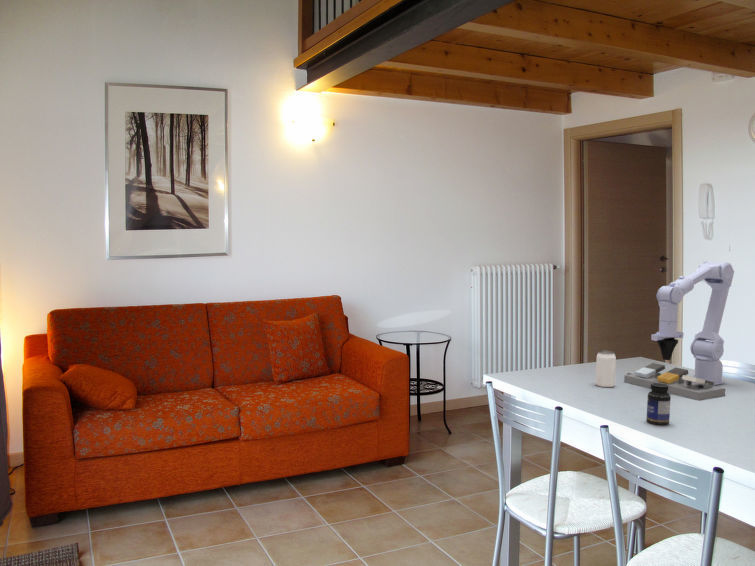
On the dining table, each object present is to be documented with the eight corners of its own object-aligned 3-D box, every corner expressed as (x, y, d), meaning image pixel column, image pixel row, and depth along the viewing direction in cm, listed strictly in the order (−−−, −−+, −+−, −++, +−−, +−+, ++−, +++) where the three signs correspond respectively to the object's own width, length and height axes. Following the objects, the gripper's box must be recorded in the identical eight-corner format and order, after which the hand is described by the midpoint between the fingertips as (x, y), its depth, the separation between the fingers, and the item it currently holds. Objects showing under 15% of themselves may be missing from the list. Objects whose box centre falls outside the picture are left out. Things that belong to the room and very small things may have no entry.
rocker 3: (699, 383, 236) (700, 379, 236) (713, 386, 232) (714, 382, 232) (682, 379, 231) (682, 375, 231) (695, 382, 227) (696, 377, 227)
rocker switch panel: (639, 375, 261) (640, 364, 260) (725, 395, 231) (725, 382, 230) (614, 379, 254) (614, 367, 253) (698, 400, 224) (699, 387, 223)
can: (615, 388, 240) (617, 354, 239) (596, 387, 241) (597, 353, 240) (613, 384, 246) (614, 351, 245) (594, 383, 247) (595, 350, 246)
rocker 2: (676, 371, 244) (675, 367, 244) (688, 373, 240) (688, 370, 240) (657, 380, 240) (657, 376, 239) (669, 383, 235) (669, 379, 235)
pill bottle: (642, 419, 200) (644, 382, 199) (662, 419, 201) (664, 382, 200) (652, 425, 194) (654, 387, 193) (673, 425, 195) (675, 387, 194)
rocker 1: (653, 366, 253) (653, 362, 252) (665, 368, 248) (664, 365, 248) (635, 375, 248) (634, 371, 248) (646, 378, 244) (646, 374, 243)
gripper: (671, 318, 245) (670, 355, 246) (644, 320, 237) (642, 359, 238) (689, 320, 238) (687, 359, 240) (662, 323, 231) (660, 363, 232)
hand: (666, 359), depth 239 cm, fingers closed
